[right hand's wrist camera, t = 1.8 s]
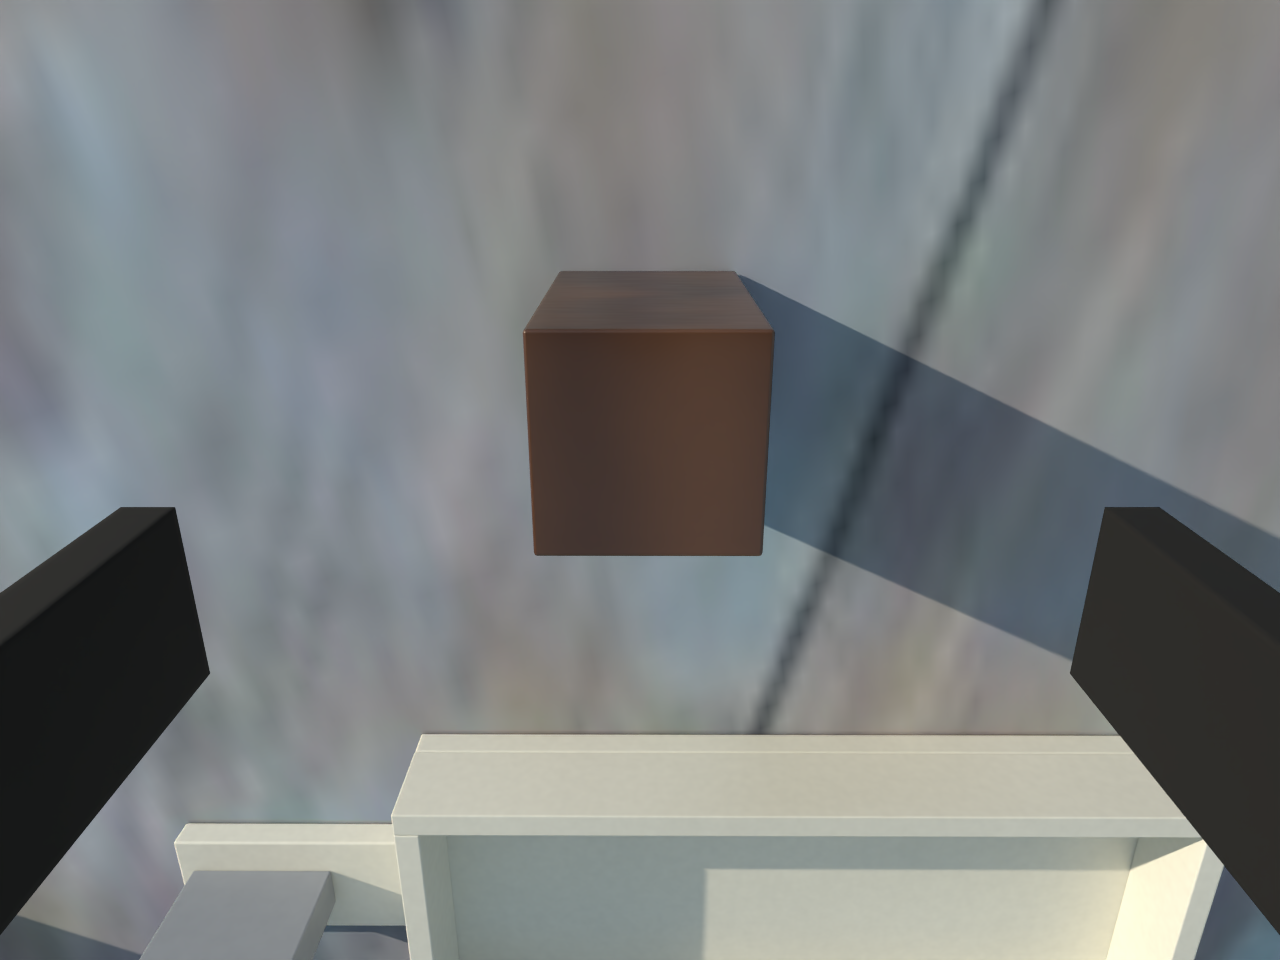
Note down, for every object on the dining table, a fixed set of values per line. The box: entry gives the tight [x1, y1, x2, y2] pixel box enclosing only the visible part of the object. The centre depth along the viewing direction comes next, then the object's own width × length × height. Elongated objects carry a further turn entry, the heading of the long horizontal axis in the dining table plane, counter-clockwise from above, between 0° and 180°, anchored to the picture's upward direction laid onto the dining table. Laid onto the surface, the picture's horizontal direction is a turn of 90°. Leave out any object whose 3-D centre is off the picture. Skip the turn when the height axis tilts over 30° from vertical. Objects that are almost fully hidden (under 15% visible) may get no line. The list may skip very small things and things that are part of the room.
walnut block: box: [523, 271, 775, 556], centre depth 22 cm, size 5×5×8 cm
